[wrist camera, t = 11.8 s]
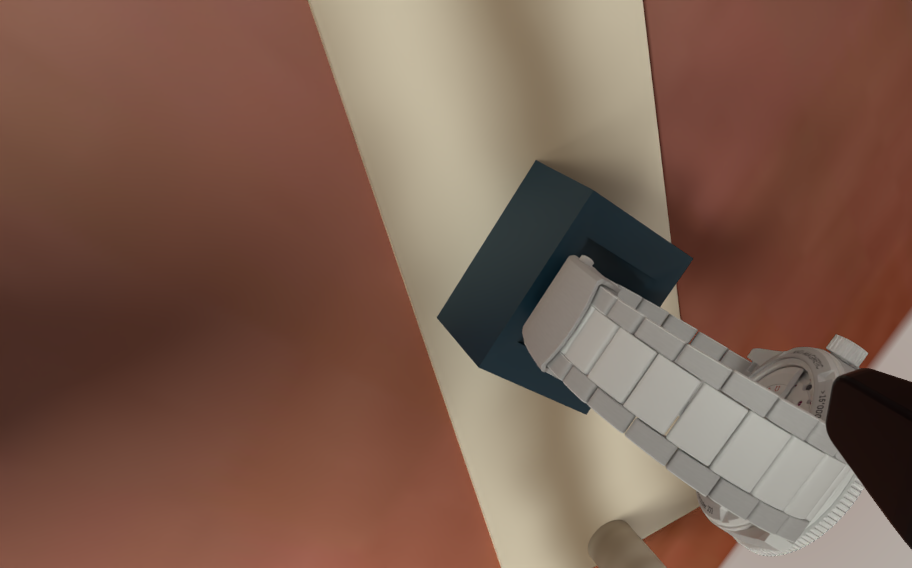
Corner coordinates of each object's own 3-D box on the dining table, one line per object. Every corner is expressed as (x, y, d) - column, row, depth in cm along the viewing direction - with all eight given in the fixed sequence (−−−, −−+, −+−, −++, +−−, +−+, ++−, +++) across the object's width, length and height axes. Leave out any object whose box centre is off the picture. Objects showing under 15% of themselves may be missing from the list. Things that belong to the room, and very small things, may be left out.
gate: (508, 596, 30) (657, 845, 21) (230, -214, 16) (352, -387, 7) (689, 492, 32) (890, 684, 23) (587, -305, 18) (990, -522, 10)
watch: (576, 382, 25) (835, 633, 16) (389, 295, 21) (595, 566, 12) (668, 246, 25) (997, 428, 15) (493, 127, 20) (800, 278, 11)
